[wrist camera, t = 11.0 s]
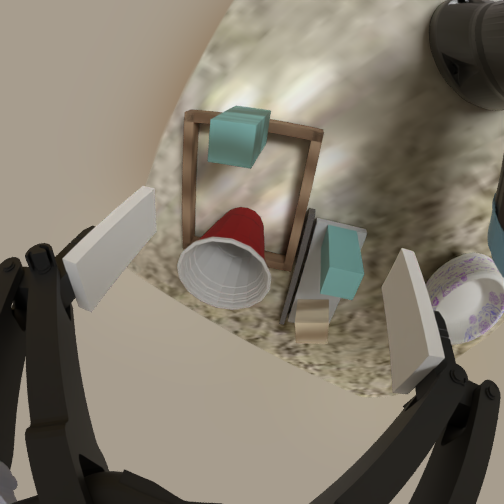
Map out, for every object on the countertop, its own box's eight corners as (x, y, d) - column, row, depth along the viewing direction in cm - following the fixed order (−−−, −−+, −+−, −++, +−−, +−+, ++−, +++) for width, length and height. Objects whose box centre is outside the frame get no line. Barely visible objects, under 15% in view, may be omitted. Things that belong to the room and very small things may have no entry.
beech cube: (297, 299, 47) (294, 322, 43) (328, 299, 45) (328, 323, 41) (298, 320, 49) (296, 343, 45) (327, 320, 48) (327, 343, 44)
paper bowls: (428, 238, 37) (445, 272, 31) (503, 244, 34) (524, 275, 28) (405, 312, 46) (412, 347, 40) (473, 311, 43) (485, 343, 37)
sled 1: (191, 99, 33) (147, 114, 24) (325, 118, 31) (330, 139, 23) (187, 240, 46) (157, 287, 37) (292, 263, 44) (283, 318, 36)
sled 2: (317, 217, 39) (316, 263, 31) (365, 229, 39) (376, 276, 30) (288, 316, 51) (280, 364, 43) (326, 324, 50) (324, 372, 42)
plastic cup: (253, 268, 47) (235, 325, 37) (195, 228, 44) (162, 279, 35) (298, 223, 41) (291, 280, 31) (235, 175, 38) (205, 219, 29)
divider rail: (309, 208, 39) (309, 213, 38) (315, 209, 39) (315, 214, 38) (280, 317, 52) (279, 323, 51) (284, 318, 52) (283, 324, 51)
